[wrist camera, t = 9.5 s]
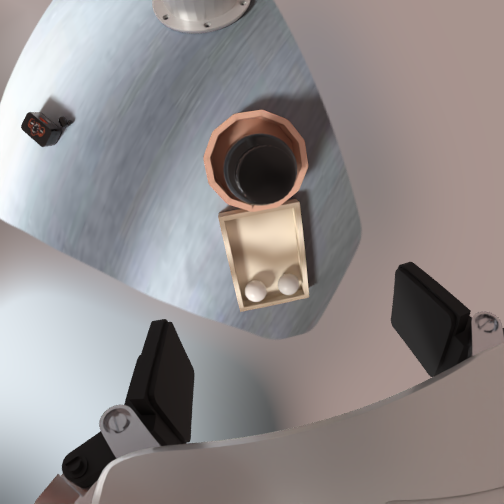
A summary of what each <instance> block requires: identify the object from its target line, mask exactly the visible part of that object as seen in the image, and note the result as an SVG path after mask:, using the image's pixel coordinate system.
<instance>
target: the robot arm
mask: <svg viewBox="0 0 504 504" xmlns="http://www.w3.org/2000/svg"><path fill="white" fill-rule="evenodd" d="M250 1H251V0H152V6H153V10H154V13H155V15H156V17H157V18H158V19H159V20H160V22H161V23H163V24H164V25H165V26H166V27H168V28H170V29H173V30H175V31H179V32H182V33H191V34H194V33H207V32H212V31H216V30H219V29H222V28H224V27H226V26H229V25H230V24H232V23H233V22H235V21H237V20H238V19H239V18H240V17H241V16H242V15H243V14H244V13H245V11H246V10H247V9H248V6H249V4H250ZM242 5H244V6H242ZM167 18H168V19H167ZM166 19H167V20H166ZM206 26H209V27H208V28H206ZM469 315H470V310H469V309H468V308H467V307H466V306H464V305H463V304H462V303H461V302H460V301H459V300H458V299H457V298H455V297H454V296H453V295H452V294H451V293H450V292H448V291H447V290H446V289H445V288H444V287H443V286H441V285H440V284H439V283H438V282H437V281H435V280H434V279H432V277H430V276H429V275H428V274H427V273H425V272H424V271H423V270H422V269H420V268H419V267H418V266H417V265H415V264H414V263H413V262H408V263H405V264H402V265H399V267H398V269H397V270H396V272H395V285H394V296H393V306H392V316H391V323H392V326H393V327H394V329H395V330H396V331H397V333H398V334H399V335H400V337H401V338H402V339H403V340H404V341H405V343H406V344H407V346H408V347H409V348H410V350H411V351H412V352H413V354H414V355H415V356H416V358H417V359H418V360H419V362H420V363H421V364H422V366H423V367H424V369H425V370H426V371H427V373H428V374H429V375H430V376H431V377H432V378H430V379H428V380H426V381H425V382H422V383H421V384H418V385H416V386H414V387H412V388H410V389H407V390H405V391H403V392H400V393H398V394H396V395H393V396H391V397H389V398H386V399H384V400H381V401H379V402H376V403H373V404H371V405H368V406H365V407H363V408H360V409H357V410H354V411H351V412H348V413H345V414H342V415H339V416H335V417H332V418H329V419H326V420H322V421H318V422H314V423H311V424H307V425H303V426H299V427H294V428H290V429H286V430H281V431H276V432H271V433H266V434H261V435H255V436H249V437H242V438H235V439H228V440H220V441H211V442H201V443H189V444H186V442H190V439H191V420H192V402H193V387H194V370H193V367H192V365H191V362H190V360H189V358H188V356H187V354H186V352H185V350H184V348H183V346H182V344H181V341H180V339H179V337H178V335H177V332H176V330H175V328H174V326H173V324H172V322H168V321H167V320H166V319H162V320H156V321H152V322H151V325H150V328H149V331H148V334H147V338H146V340H145V344H144V347H143V350H142V353H141V355H140V356H139V357H138V359H137V363H136V366H135V369H134V372H133V376H132V379H131V383H130V386H129V390H128V394H127V397H126V401H125V404H124V405H116V406H113V407H111V408H109V409H108V410H106V411H105V412H104V413H103V415H102V416H101V418H100V422H99V427H100V430H101V431H100V432H99V433H98V434H96V435H95V436H94V437H92V438H91V439H89V440H88V441H86V442H85V443H84V444H82V445H81V446H79V447H78V448H76V449H75V450H73V451H72V452H70V453H69V454H68V455H67V456H66V457H65V459H64V460H63V464H62V471H63V474H62V475H59V474H57V476H56V477H55V478H54V479H53V481H52V482H51V483H50V484H49V485H48V487H47V488H46V489H45V490H44V491H43V492H42V494H41V495H40V496H39V497H38V498H37V500H36V501H35V503H34V504H504V328H502V324H501V321H500V319H499V318H498V317H497V316H496V315H494V314H492V313H490V312H478V313H476V314H475V315H474V316H473V317H470V316H469Z"/></svg>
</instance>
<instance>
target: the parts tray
mask: <svg viewBox="0 0 504 504" xmlns="http://www.w3.org/2000/svg"><path fill="white" fill-rule="evenodd" d="M218 218H219V222H220V227H221V231H222V236H223V240H224V245H225V249H226V253H227V258H228V262H229V266H230V270H231V275H232V279H233V283H234V287H235V291H236V296H237V300H238V304H239V308H240V312H241V311H247V310H252V309H257V308H262V307H267V306H271V305H276V304H281V303H286V302H290V301H295V300H299V299H304V298H308V297H309V290H308V278H307V267H306V256H305V246H304V237H303V228H302V219H301V211H300V202H299V201H298V200H297V199H290V200H287V201H285V202H284V203H283V204H282V205H280V206H279V207H277V208H271V209H266V210H261V211H256V212H250V211H247V210H244V209H236V210H231V211H226V212H222V213H219V216H218ZM284 274H293V275H295V276H296V277H297V278H298V280H299V288H298V290H297V292H296V293H294V294H292V295H285V294H283V293H281V292H280V290H279V289H278V280H279V278H280V277H281V276H282V275H284ZM254 280H258V281H261V282H262V283H264V285H265V286H266V289H267V293H266V296H265V298H264V299H263V300H261V301H259V302H252V301H250V300H249V299H248V298H247V297H246V295H245V288H246V285H247V284H248V283H249V282H251V281H254Z"/></svg>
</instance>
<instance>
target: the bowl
mask: <svg viewBox="0 0 504 504" xmlns="http://www.w3.org/2000/svg"><path fill="white" fill-rule="evenodd" d="M213 132H214V133H213ZM213 132H212V134H211V137H210V140H209V143H208V146H207V148H206V151H205V154H204V158H203V159H204V164H205V169H206V173H207V178H208V183H209V185H210V186H211V187H212V188H213V189H214V190H215V192H216V193H217V194H218V195H219V196H220V197H221V198H222V199H223V200H224V201H225V202H226V203H227V204H229V205H232V206H235V207H238V208H241V209H244V210H247V211H250V212H256V211H261V210H266V209H271V208H277V207H279V206H280V205H282V204H283V203H284V202H285V201H287V200H288V199H289V198H290V197H291V196H293V195H294V194H295V193H296V192H298V190H299V189H300V186H301V184H302V181H303V179H304V176H305V174H306V171H307V169H308V167H307V166H308V161H307V153H306V147H305V141H304V139H303V138H302V137H301V135H300V134H299V133H298V132H297V130H296V129H295V128H294V126H293V125H292V124H291V123H290V122H289V120H287V119H285V118H283V117H280V116H278V115H275V114H273V113H270V112H267V111H265V110H255V111H249V112H243V113H237V114H233V115H232V116H231V117H230V118H228V119H227V120H226V121H225V122H224V123H222V124H221V125H220V126H219V127H218V128H216V129H215V130H214V131H213ZM258 133H263V134H269V135H273V136H275V137H277V138H279V139H281V140H282V141H284V142H285V143H286V144H287V145H288V146H289V147H290V149H291V150H292V152H293V153H294V156H295V158H296V162H297V177H296V180H295V183H294V186H293V187H292V190H291V191H290V192H289V194H288V195H287V196H285V197H284V199H281V200H280V201H279V202H275V203H273V204H269V205H263V206H257V205H251V204H248V203H245V202H243V201H241V200H240V199H238V198H237V197H236V196H235V195H234V194H233V193H232V192H231V191H230V189H229V188H228V186H227V184H226V181H225V178H224V172H223V167H224V158H225V154H226V152H227V150H228V148H229V147H230V145H231V144H232V143H233V142H234V141H236V140H237V139H239V138H240V137H243V136H246V135H251V134H258Z"/></svg>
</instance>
